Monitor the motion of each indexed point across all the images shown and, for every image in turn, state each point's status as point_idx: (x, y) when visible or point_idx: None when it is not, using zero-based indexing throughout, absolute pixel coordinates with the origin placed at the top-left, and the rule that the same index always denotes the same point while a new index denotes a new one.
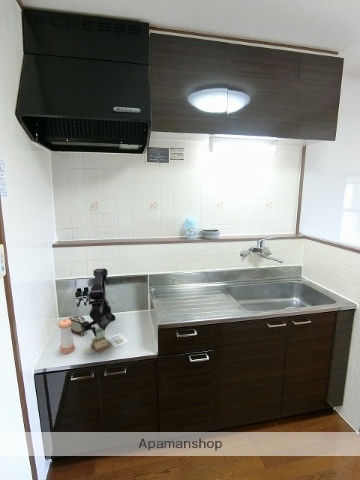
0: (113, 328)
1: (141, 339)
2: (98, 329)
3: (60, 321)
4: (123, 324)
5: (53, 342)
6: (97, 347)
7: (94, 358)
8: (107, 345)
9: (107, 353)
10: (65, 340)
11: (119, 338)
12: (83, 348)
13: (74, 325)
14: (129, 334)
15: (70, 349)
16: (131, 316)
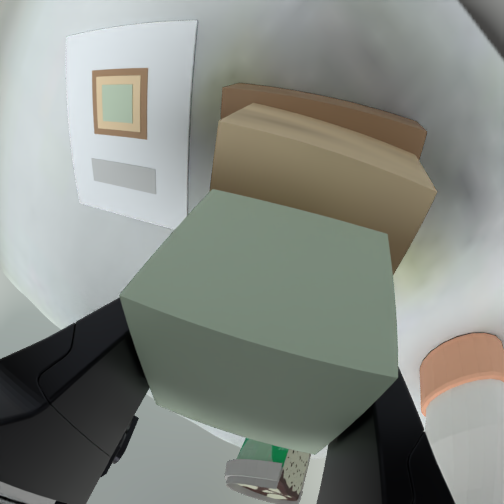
0: (100, 278)
1: (16, 18)
2: (235, 415)
3: None
4: (47, 254)
5: None
6: (401, 154)
7: (488, 84)
8: (259, 90)
9: (335, 9)
10: None
11: (100, 137)
12: (417, 297)
13: (299, 465)
14: (37, 129)
15: (489, 353)
16: (16, 267)
